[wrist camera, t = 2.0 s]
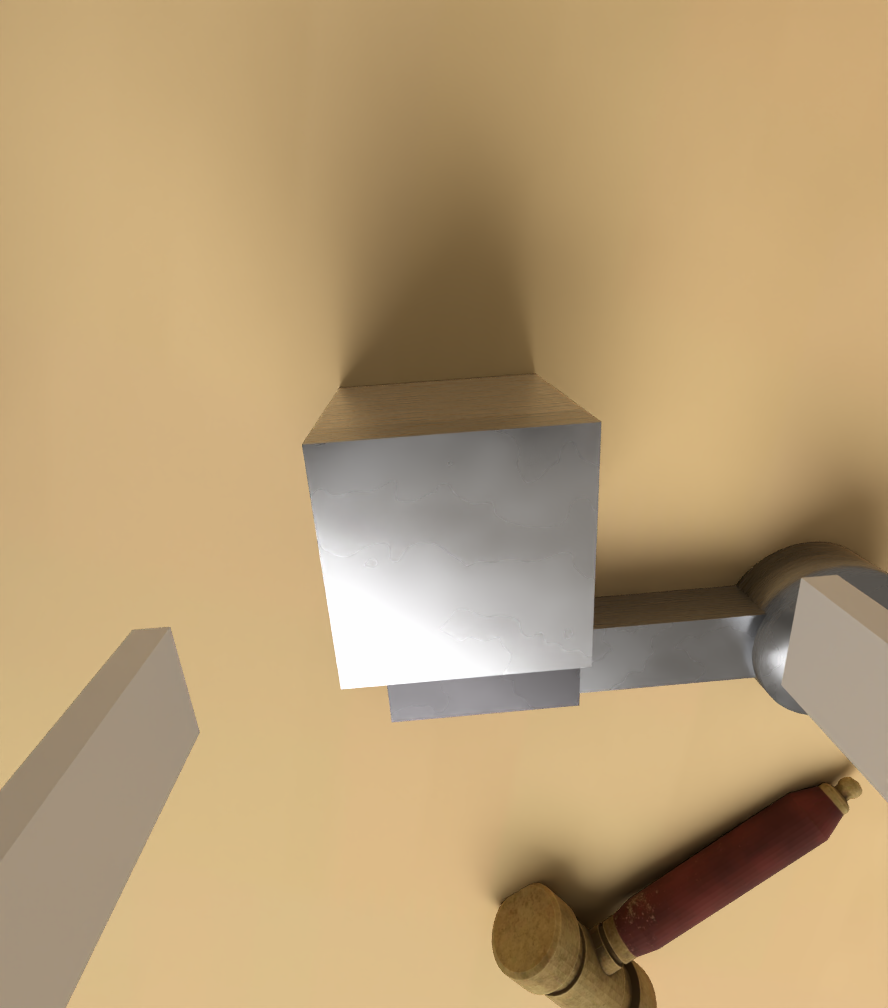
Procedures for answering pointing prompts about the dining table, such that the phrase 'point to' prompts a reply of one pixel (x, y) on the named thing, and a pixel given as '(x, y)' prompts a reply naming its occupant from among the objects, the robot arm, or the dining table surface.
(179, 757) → the robot arm
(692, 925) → the gavel
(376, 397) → the brushed metal cube
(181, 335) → the dining table surface
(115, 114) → the dining table surface
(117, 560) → the dining table surface
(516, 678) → the ratchet
